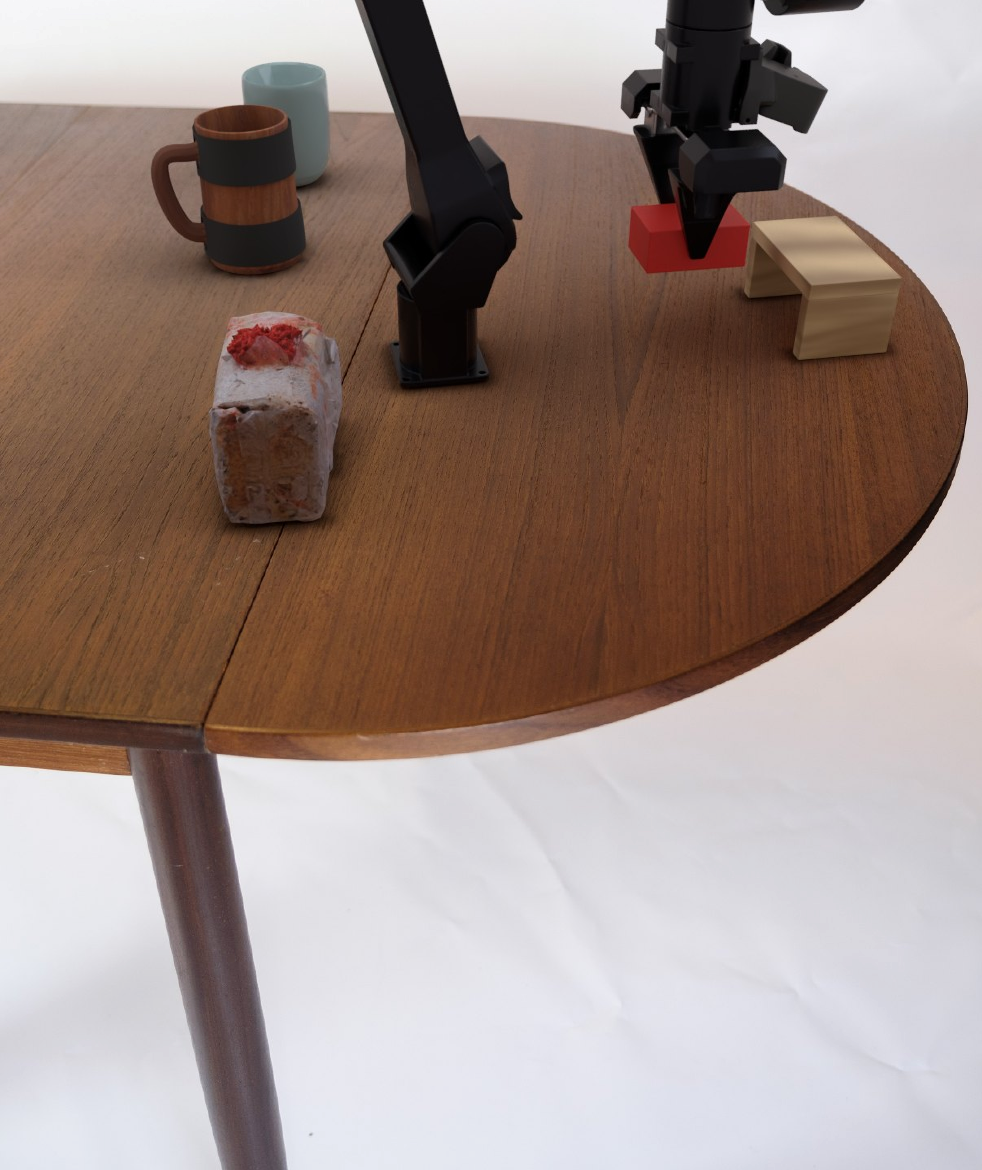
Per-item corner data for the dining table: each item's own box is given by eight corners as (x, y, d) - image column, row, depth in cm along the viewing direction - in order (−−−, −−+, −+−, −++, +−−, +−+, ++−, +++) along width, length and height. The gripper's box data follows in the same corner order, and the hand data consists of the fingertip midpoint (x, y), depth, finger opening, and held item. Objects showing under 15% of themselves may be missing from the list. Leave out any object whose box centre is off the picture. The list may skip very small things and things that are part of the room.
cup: (239, 189, 122) (226, 81, 116) (273, 162, 128) (263, 58, 122) (314, 198, 120) (305, 89, 114) (345, 171, 126) (338, 65, 120)
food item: (229, 417, 88) (211, 283, 82) (345, 411, 89) (335, 279, 83) (216, 530, 78) (193, 386, 72) (348, 523, 78) (336, 380, 72)
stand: (886, 352, 96) (902, 277, 93) (798, 360, 95) (811, 285, 92) (824, 285, 106) (836, 215, 102) (743, 292, 105) (753, 221, 101)
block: (722, 240, 98) (727, 199, 96) (745, 267, 94) (750, 225, 92) (627, 247, 96) (630, 205, 95) (646, 274, 93) (650, 231, 91)
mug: (159, 249, 111) (136, 112, 104) (295, 231, 114) (282, 97, 107) (173, 289, 105) (150, 146, 97) (317, 269, 108) (305, 129, 101)
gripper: (882, 53, 79) (838, 289, 88) (773, -18, 93) (746, 192, 103) (709, 62, 77) (684, 301, 87) (626, -12, 92) (612, 200, 101)
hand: (685, 244), depth 94 cm, fingers closed on block, 5 cm apart
